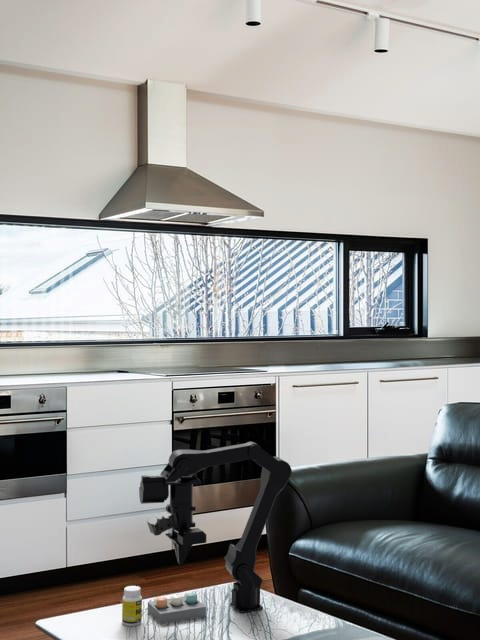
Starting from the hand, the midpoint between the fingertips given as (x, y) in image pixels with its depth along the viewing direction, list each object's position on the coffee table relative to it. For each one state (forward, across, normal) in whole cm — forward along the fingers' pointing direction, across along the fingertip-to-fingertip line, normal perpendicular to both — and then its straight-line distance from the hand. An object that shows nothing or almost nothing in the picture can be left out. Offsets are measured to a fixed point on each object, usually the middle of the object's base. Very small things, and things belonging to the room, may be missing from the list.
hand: (180, 563), depth 214 cm
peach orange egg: (+12, 0, -5) cm, 13 cm away
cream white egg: (+12, 0, -1) cm, 12 cm away
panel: (+12, 0, -1) cm, 13 cm away
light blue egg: (+12, 0, +3) cm, 13 cm away
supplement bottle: (+13, +1, -13) cm, 18 cm away
